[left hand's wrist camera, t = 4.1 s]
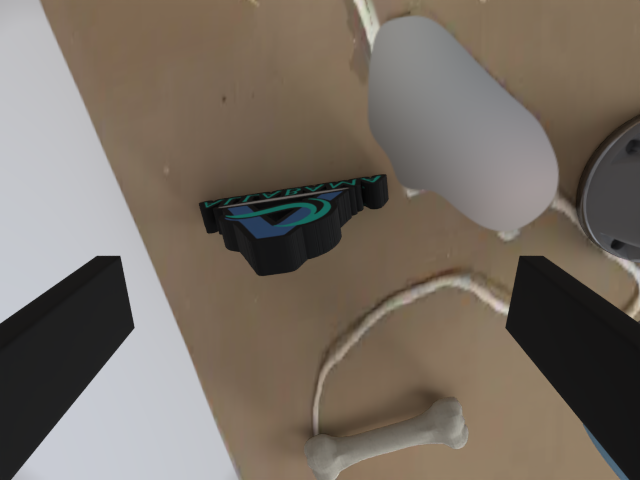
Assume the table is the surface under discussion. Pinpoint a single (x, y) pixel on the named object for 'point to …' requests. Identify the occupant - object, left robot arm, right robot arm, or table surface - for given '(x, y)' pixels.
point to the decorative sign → (291, 221)
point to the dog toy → (388, 439)
